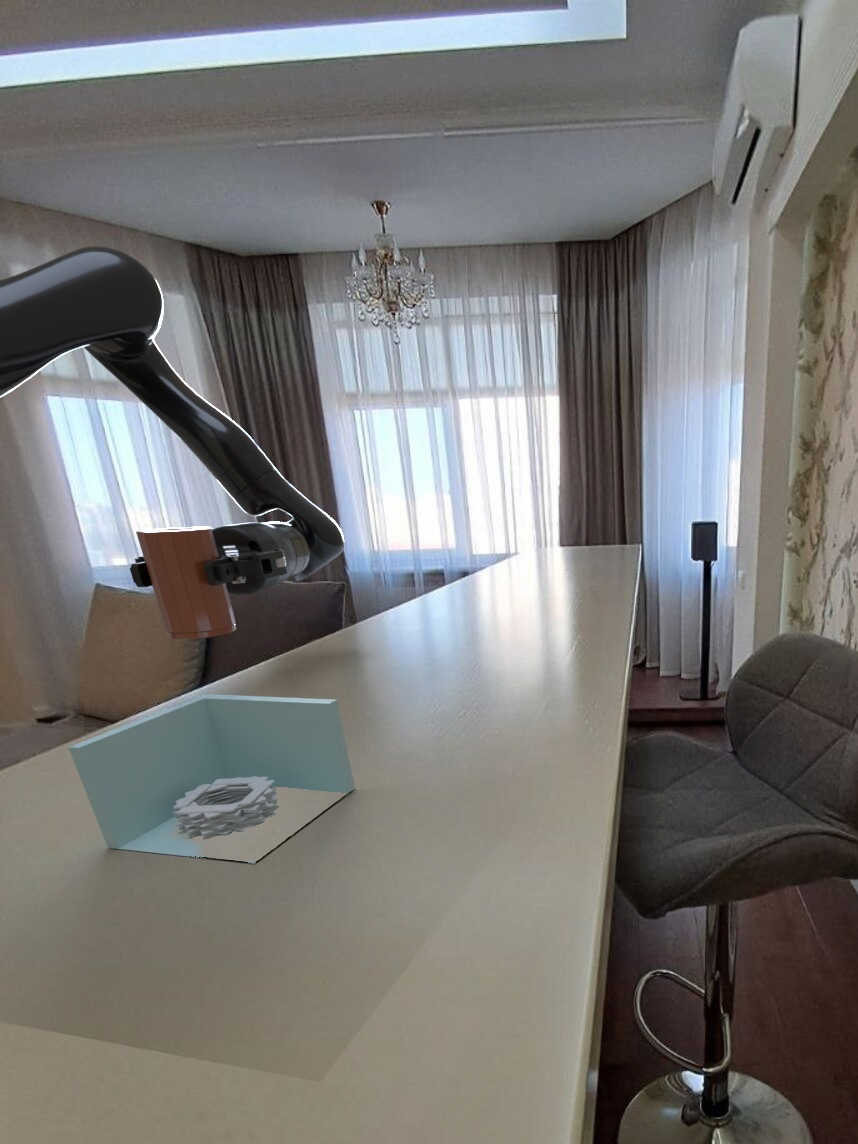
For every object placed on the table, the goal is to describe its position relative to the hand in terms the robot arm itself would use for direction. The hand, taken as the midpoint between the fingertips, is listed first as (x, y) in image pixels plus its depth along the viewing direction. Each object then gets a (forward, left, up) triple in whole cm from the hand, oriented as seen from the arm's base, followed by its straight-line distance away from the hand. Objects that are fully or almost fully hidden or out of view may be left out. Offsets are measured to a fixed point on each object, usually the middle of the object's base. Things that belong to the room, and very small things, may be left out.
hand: (173, 575), depth 66 cm
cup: (0, +2, -6) cm, 6 cm away
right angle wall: (+18, -21, -15) cm, 31 cm away
